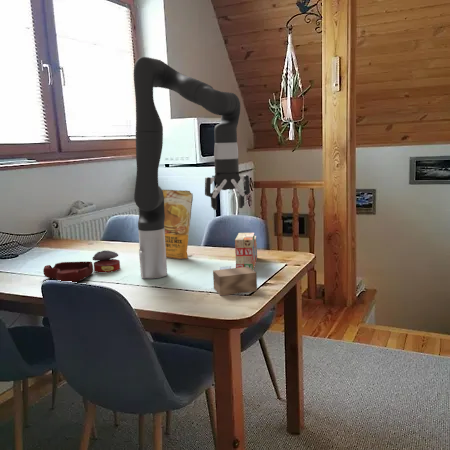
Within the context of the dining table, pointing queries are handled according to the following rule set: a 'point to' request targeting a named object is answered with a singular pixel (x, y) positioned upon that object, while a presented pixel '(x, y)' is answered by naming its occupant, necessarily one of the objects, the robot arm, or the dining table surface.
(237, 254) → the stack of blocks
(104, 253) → the canned food
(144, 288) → the dining table surface
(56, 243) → the dining table surface
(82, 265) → the ashtray
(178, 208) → the pancake mix bag
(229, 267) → the block
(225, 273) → the step
